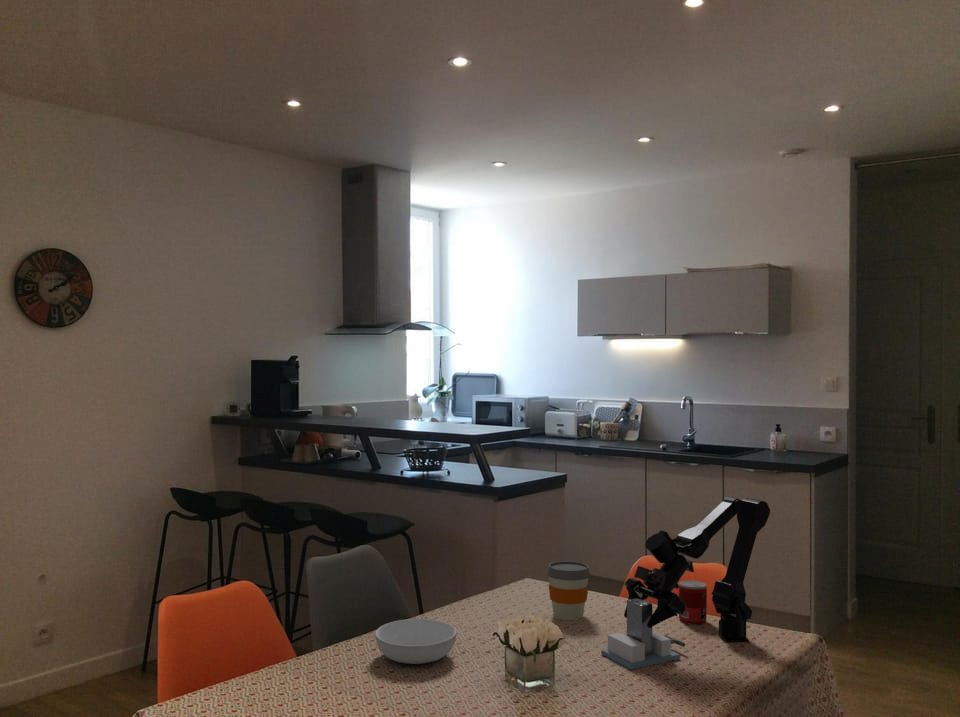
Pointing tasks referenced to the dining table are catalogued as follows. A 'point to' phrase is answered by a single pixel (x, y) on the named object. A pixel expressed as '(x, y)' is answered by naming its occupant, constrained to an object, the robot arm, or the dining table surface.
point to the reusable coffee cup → (568, 589)
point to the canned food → (693, 601)
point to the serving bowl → (415, 640)
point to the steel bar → (640, 622)
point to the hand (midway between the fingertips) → (636, 621)
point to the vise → (640, 650)
